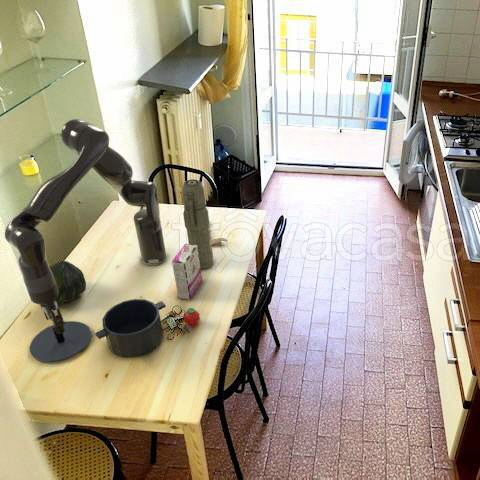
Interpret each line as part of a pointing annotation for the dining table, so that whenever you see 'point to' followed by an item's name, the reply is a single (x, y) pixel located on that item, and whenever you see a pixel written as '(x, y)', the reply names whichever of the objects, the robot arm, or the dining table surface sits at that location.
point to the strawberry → (191, 317)
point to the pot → (132, 328)
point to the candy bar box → (187, 271)
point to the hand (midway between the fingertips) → (55, 325)
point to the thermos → (197, 221)
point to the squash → (68, 281)
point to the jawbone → (216, 241)
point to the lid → (60, 342)
